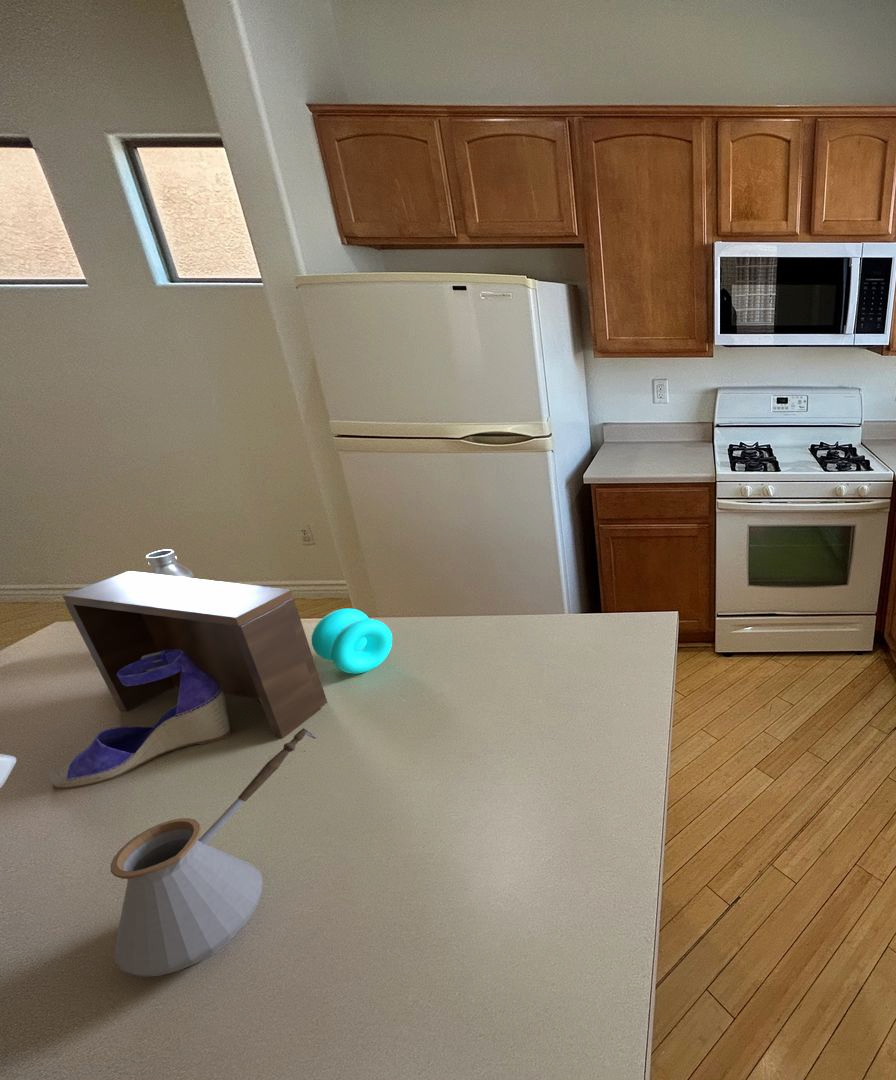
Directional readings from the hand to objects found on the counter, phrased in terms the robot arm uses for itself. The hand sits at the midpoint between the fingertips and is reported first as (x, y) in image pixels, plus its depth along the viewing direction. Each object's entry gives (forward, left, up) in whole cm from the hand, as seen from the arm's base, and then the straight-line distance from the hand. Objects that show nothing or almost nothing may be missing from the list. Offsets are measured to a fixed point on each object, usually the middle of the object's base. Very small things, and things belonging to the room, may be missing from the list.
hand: (2, 762), depth 66 cm
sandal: (0, +12, -11) cm, 16 cm away
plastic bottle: (-22, +36, -11) cm, 44 cm away
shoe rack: (0, +23, -11) cm, 26 cm away
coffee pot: (+34, -2, -11) cm, 36 cm away
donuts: (+12, +38, -11) cm, 42 cm away
